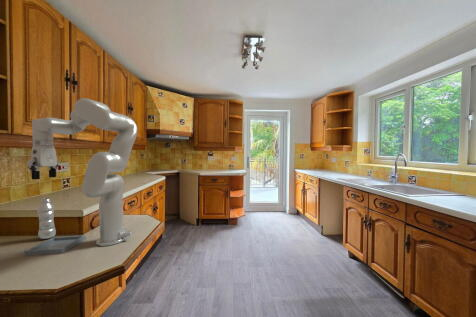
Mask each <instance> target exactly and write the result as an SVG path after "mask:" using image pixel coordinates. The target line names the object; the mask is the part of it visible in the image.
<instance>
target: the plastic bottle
mask: <svg viewBox="0 0 476 317" xmlns="http://www.w3.org/2000/svg"><path fill="white" fill-rule="evenodd" d="M51 199H52V198H51V197H44V198H40V205H39V206H38V208H37V210H36V212H37V216H38V217H37V218H38V222H39V223H38V224H39V225H38V227H39V228H38V234H37V236H38V238H39V239H41V240H49V239H51V238H54V237H56V236H55V235H56V233H57V230H56V227H55V221H54V218H55V216H54V215H55V206H54V205H53V204H52V203H51V202H52V200H51Z"/></svg>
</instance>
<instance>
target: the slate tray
mask: <svg viewBox="0 0 476 317" xmlns="http://www.w3.org/2000/svg"><path fill="white" fill-rule="evenodd" d="M86 237H87V236H86V235H72V236H71V235H69V236H59V237H58V236H54V237H51V238H48V239H46V240H45V241H43V242H41V243H39V244H37V245H35V246H32V247H31V248H29V249H26V250H24V252H23V254H24V256H25V257H26V256H39V255H42V256H43V255H51V254H53V255H55V254H63V253H65V252H67V251H68V250H70V249H72V248H73V247H75V246H77V245H78V244H80V243H82V242H83V241H85V240H86V239H87V238H86Z"/></svg>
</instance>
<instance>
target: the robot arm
mask: <svg viewBox="0 0 476 317" xmlns="http://www.w3.org/2000/svg"><path fill="white" fill-rule="evenodd" d="M90 125H92V126H94V127H96V128H98V129H100V130H103V131H111V132H117V133H118V134H117V135H116V136H115V137H114V138H113V139H112V141H111V144H110V147H109V149H108V151H97V152H96V153H94V154H93V155H92V156H91V157H90V158H89V161H88V163H87V165H86V170H85V173H84V176H83V180H82V183H81V191H82V193H83V194H84V196H86V198H87V197H88V198H89V199H90V198H91V199H94V198H99V197H100V199H99V203H98V218H99V238H98V239H97V240H96V241H95V243H96V245H97V246H98V247H99V246H100V247H106V246H113V245H117V244H120V243H122V242H124V241H126V240H127V239H128V237H132V236H133V232H132V230H127V228H126V227H124V207H123V206H124V205H123V203H124V202H123V195H124V189H125V181H124V178H123V176H121V175H119V173H120V172H123V171H124V170H125V169H126V167H127V166H128V163H129V160H130V156H131V153H132V150H133V146H134V143H135V141H136V139H137V136H138V132H139V131H138V126H137V124H136V122H135V120H133V119H132V118H131V117H130V116H128V115H125V114H122V113H119V112H118V113H117V112H114V111H111V108H110V107H109V106H108V105H107V104H106V103H103V102H100V101H96V100H93V99H90V98H85V97H84V98H83V97H82V98H79V99H78V100H77V101H75V103H74V104H73V110H71V112H70V119H69V120H68V119H62V118H56V117H49V116H48V117H42V118H33V120H32V121H31V127H32V128H31V129H32V130H31V132H32V136H31V137H32V148H31V151H30V152H31V153H30V160H27V161H25V162H26V165H27V168H28V169H29V172H30V173H31V180H40V179H41V176H40V173H41V171H40V169H41V167H44V168H45V167H47V168H48V177H49V178H57V170H58V167H59V164H60V161H59V160H58V156H57V151H56V148H55V146H54V134H59V135H65V136H67V135H75V134H78V133H81V132H83V131H85V129H86V127H87V126H90Z"/></svg>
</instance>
